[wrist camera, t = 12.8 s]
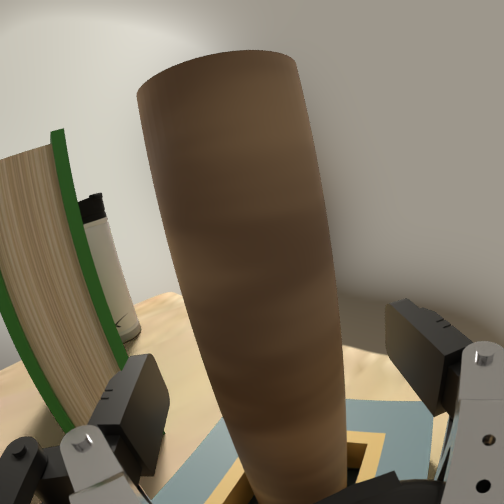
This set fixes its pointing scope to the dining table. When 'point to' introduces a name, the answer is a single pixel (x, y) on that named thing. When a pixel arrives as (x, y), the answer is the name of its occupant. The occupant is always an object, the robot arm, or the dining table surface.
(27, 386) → the dining table surface
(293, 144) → the peg
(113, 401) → the robot arm
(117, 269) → the travel mug
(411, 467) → the socket block
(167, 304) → the dining table surface
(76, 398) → the hardback book
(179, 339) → the dining table surface
